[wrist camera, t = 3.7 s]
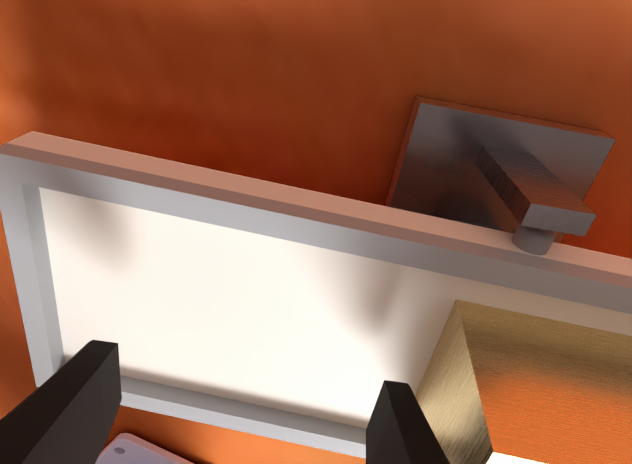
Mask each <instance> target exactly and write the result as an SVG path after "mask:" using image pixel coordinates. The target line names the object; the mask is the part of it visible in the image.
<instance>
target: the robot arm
mask: <svg viewBox="0 0 632 464" xmlns="http://www.w3.org/2000/svg"><path fill="white" fill-rule="evenodd" d="M121 400H122V393H121V378H120V364H119V349H118V343H114V342H106V341H99V340H91V341H90V342H88V343H87V344H86V345H85V346H84V347H83V348H82V349H81V350H79V351H78V352H77V353H76V354H75V355H74V356H73V357H72V358H71V359H70V360H69V361H68V362H67V363H65V364H64V365H63V366H62V367H61V368H60V369H59V370H58V371H57V372H56V373H54V374H53V375H52V376H51V377H50V378H49V379H48V380H47V381H46V382H44V383H43V384H42V385H41V386H40V387H39V388H38V389H36V390H35V391H34V392H33V393H32V394H31V395H29V396H28V397H27V398H26V399H25V400H24V401H22V402H21V403H20V404H19V405H18V406H17V407H15V408H14V409H13V410H12V411H11V412H10V413H8V414H7V415H6V416H5V417H3V418H2V419H1V420H0V464H194V463H192V462H190V461H188V460H185V459H183V458H181V457H179V456H177V455H175V454H173V453H171V452H169V451H166V450H164V449H162V448H160V447H158V446H156V445H154V444H152V443H149V442H147V441H145V440H143V439H141V438H139V437H137V436H135V435H133V434H130V433H121V434H119V435H118V436H117V437H116V438H115V439H114V440H113V441H112V442H111V443H110V444H109V445H108V446H107V447H106V448H105V449H104V450H103V451H102V449H103V447H104V445H105V443H106V440H107V438H108V435H109V433H110V430H111V427H112V425H113V422H114V419H115V417H116V414H117V411H118V408H119V406H120V403H121ZM101 451H102V452H101ZM366 464H450V462H449V460H448V458H447V457H446V455H445V453H444V451H443V449H442V448H441V446H440V444H439V442H438V440H437V438H436V437H435V435H434V433H433V431H432V429H431V427H430V425H429V423H428V421H427V419H426V417H425V415H424V413H423V411H422V409H421V407H420V405H419V403H418V401H417V399H416V397H415V395H414V393H413V391H412V389H411V387H410V386H409V384H408V383H403V382H396V381H388V380H384V382H383V385H382V388H381V390H380V393H379V396H378V398H377V401H376V404H375V407H374V409H373V412H372V415H371V418H370V420H369V423H368V426H367V429H366Z"/></svg>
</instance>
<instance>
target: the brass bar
mask: <svg viewBox="0 0 632 464" xmlns="http://www.w3.org/2000/svg"><path fill="white" fill-rule="evenodd" d="M415 397H416V399H417V401H418V403H419V405H420V407H421V409H422V411H423V413H424V415H425V417H426V419H427V421H428V423H429V425H430V427H431V429H432V431H433V433H434V435H435V437H436V438H437V440H438V442H439V444H440V446H441V448H442V449H443V451H444V453H445V455H446V457H447V458H448V460H449V462H450V464H632V336H628V335H623V334H619V333H614V332H609V331H604V330H600V329H595V328H590V327H585V326H581V325H576V324H571V323H566V322H562V321H557V320H552V319H547V318H543V317H538V316H533V315H528V314H523V313H519V312H514V311H509V310H504V309H500V308H495V307H490V306H485V305H481V304H476V303H471V302H466V301H462V300H457V299H456V300H455V303H454V305H453V307H452V310H451V312H450V315H449V317H448V319H447V322H446V324H445V326H444V329H443V331H442V333H441V336H440V338H439V340H438V343H437V345H436V347H435V350H434V352H433V355H432V357H431V359H430V362H429V364H428V366H427V369H426V371H425V373H424V376H423V378H422V380H421V383H420V385H419V387H418V390H417V392H416V395H415Z"/></svg>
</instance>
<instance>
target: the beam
mask: <svg viewBox="0 0 632 464" xmlns="http://www.w3.org/2000/svg"><path fill="white" fill-rule="evenodd" d="M0 210H1V215H2V220H3V225H4V230H5V235H6V240H7V244H8V249H9V254H10V259H11V264H12V269H13V274H14V279H15V284H16V289H17V294H18V299H19V304H20V309H21V314H22V319H23V324H24V329H25V334H26V339H27V344H28V348H29V353H30V358H31V363H32V368H33V373H34V378H35V383H36V387H40V386H41V385H42V384H43V383H44V382H46V381H47V380H48V379H49V378H50V377H51V376H52V375H53V374H54V373H56V372H57V371H58V370H59V369H60V368H61V367H62V366H63V365H64V364H65V363H67V362H68V361H69V360H70V359H71V358H72V357H73V356H74V355H75V354H76V353H77V352H78V351H79V350H81V349H82V348H83V347H84V346H85V345H86V344H87V343H88V342H90V341H91V340H99V341H106V342H114V343H118V349H119V364H120V378H121V393H122V400H121V403H120V405H122V406H127V407H131V408H136V409H141V410H145V411H150V412H154V413H159V414H163V415H168V416H173V417H177V418H182V419H186V420H191V421H196V422H200V423H205V424H209V425H214V426H218V427H223V428H228V429H232V430H237V431H241V432H246V433H251V434H255V435H260V436H264V437H269V438H273V439H278V440H283V441H287V442H292V443H296V444H301V445H306V446H310V447H315V448H319V449H324V450H328V451H333V452H338V453H342V454H347V455H351V456H356V457H361V458H365V459H366V429H367V426H368V423H369V420H370V418H371V415H372V412H373V409H374V407H375V404H376V401H377V398H378V396H379V393H380V390H381V388H382V385H383V382H384V380H388V381H396V382H403V383H408V384H409V386H410V387H411V389H412V391H413V393H414V395H416V392H417V390H418V387H419V385H420V383H421V380H422V378H423V376H424V373H425V371H426V369H427V366H428V364H429V362H430V359H431V357H432V355H433V352H434V350H435V347H436V345H437V343H438V340H439V338H440V336H441V333H442V331H443V329H444V326H445V324H446V322H447V319H448V317H449V315H450V312H451V310H452V307H453V305H454V303H455V300H456V299H457V300H462V301H466V302H471V303H476V304H481V305H485V306H490V307H495V308H500V309H504V310H509V311H514V312H519V313H523V314H528V315H533V316H538V317H543V318H547V319H552V320H557V321H562V322H566V323H571V324H576V325H581V326H585V327H590V328H595V329H600V330H604V331H609V332H614V333H619V334H623V335H628V336H632V259H631V258H626V257H621V256H616V255H612V254H607V253H602V252H598V251H593V250H588V249H584V248H579V247H574V246H570V245H565V244H560V243H556V242H553V241H554V239H555V237H556V234H555V232H554V231H550V230H544V229H538V228H532V227H526V226H521V225H520V224H518V226H517V228H516V230H515V232H514V234H513V233H509V232H504V231H499V230H495V229H490V228H485V227H481V226H476V225H471V224H467V223H462V222H457V221H452V220H448V219H443V218H438V217H434V216H429V215H424V214H420V213H415V212H410V211H406V210H401V209H396V208H392V207H387V206H382V205H377V204H373V203H368V202H363V201H359V200H354V199H349V198H345V197H340V196H335V195H331V194H326V193H321V192H317V191H312V190H307V189H302V188H298V187H293V186H288V185H284V184H279V183H274V182H270V181H265V180H260V179H256V178H251V177H246V176H242V175H237V174H232V173H228V172H223V171H218V170H213V169H209V168H204V167H199V166H195V165H190V164H185V163H181V162H176V161H171V160H167V159H162V158H157V157H153V156H148V155H143V154H138V153H134V152H129V151H124V150H120V149H115V148H110V147H106V146H101V145H96V144H92V143H87V142H82V141H78V140H73V139H68V138H63V137H59V136H54V135H49V134H45V133H40V132H35V131H31V132H29V133H26V134H24V135H22V136H20V137H18V138H16V139H13V140H11V141H9V142H7V143H5V144H3V145H1V146H0Z"/></svg>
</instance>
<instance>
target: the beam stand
mask: <svg viewBox="0 0 632 464" xmlns="http://www.w3.org/2000/svg"><path fill="white" fill-rule="evenodd" d="M615 140H616V139H614V138H612V137H611V136H609V135H608V134H606V133H604V132H603V131H599V130H594V129H589V128H584V127H578V126H573V125H568V124H562V123H557V122H552V121H547V120H541V119H536V118H531V117H526V116H520V115H515V114H510V113H504V112H499V111H494V110H489V109H483V108H478V107H473V106H468V105H462V104H457V103H452V102H446V101H441V100H436V99H431V98H425V97H420V96H416V97H415V101H414V104H413V108H412V111H411V115H410V118H409V121H408V125H407V128H406V132H405V135H404V139H403V142H402V146H401V149H400V153H399V156H398V159H397V163H396V166H395V170H394V173H393V177H392V180H391V184H390V187H389V191H388V194H387V198H386V201H385V204H384V206H387V207H392V208H396V209H401V210H406V211H410V212H415V213H420V214H424V215H429V216H434V217H438V218H443V219H448V220H452V221H457V222H462V223H467V224H471V225H476V226H481V227H485V228H490V229H495V230H499V231H504V232H509V233H513V234H514V232H515V230H516V228H517V226H518V224H520V225H521V226H526V227H532V228H538V229H544V230H550V231H554V232H555V234H556V237H555V239H554V241H553V242H556V243H560V242H561V240H562V239H563V237H564V235H565V233H567V234H573V235H579V236H585V235H586V233H587V231H588V229H589V228H590V226H591V224H592V222H593V221H594V219H595V217H596V214H595V213H594V212H593V211H592V210H591V209H590V208H589V207H588V206H587V205H586V204H585V203H584V202H583V200H584V198H585V196H586V194H587V192H588V190H589V188H590V187H591V185H592V183H593V181H594V179H595V177H596V175H597V174H598V172H599V170H600V168H601V166H602V164H603V162H604V161H605V159H606V157H607V155H608V153H609V151H610V149H611V148H612V146H613V144H614V142H615Z"/></svg>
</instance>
